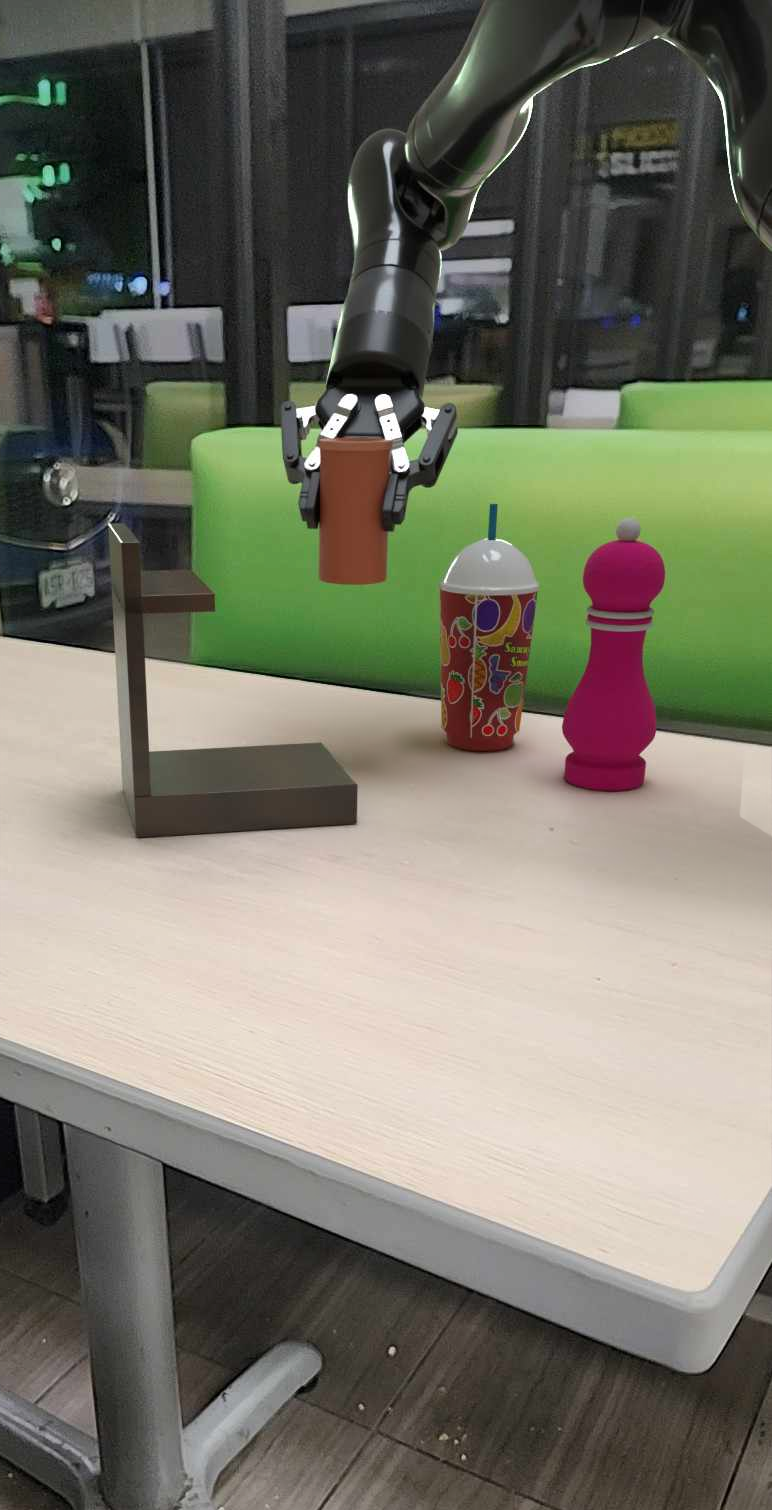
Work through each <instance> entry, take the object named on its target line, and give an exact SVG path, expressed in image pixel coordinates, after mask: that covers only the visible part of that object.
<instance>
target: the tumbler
mask: <svg viewBox="0 0 772 1510" xmlns="http://www.w3.org/2000/svg"><path fill="white" fill-rule="evenodd" d="M319 449H320V502H319V525H318V580H319V581H320V582H323V583H327V584H332V585H346V586H362V585H375V584H381V583H384V582H386V581H387V576H388V574H387V573H388V546H389V545H388V542H389V532H386V531H384V528H383V521H382V509H383V504H384V498H385V493H386V487H387V481H388V478H389V474H391V473H390V457H391V449H392V440H391V439H381V438H326V439H320V440H319Z"/></svg>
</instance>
